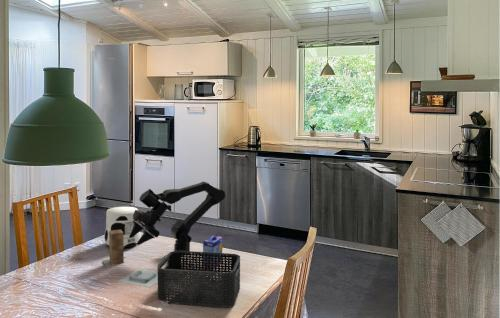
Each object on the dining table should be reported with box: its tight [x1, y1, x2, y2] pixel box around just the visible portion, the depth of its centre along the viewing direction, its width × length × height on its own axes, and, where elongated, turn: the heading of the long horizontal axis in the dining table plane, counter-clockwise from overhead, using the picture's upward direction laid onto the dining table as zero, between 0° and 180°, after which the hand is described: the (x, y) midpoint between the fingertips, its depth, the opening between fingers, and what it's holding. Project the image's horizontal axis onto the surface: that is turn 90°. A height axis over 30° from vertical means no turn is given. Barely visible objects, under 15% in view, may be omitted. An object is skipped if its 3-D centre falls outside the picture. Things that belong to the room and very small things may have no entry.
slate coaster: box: [102, 256, 126, 269], centre depth 182 cm, size 10×10×1 cm
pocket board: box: [118, 268, 158, 288], centre depth 166 cm, size 14×14×2 cm
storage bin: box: [157, 250, 241, 308], centre depth 153 cm, size 29×19×13 cm
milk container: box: [104, 206, 141, 248], centre depth 206 cm, size 17×17×18 cm
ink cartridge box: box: [202, 233, 224, 267], centre depth 182 cm, size 10×6×14 cm, turn 158°
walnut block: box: [108, 230, 125, 266], centre depth 181 cm, size 5×5×14 cm
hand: (133, 241), depth 184 cm, fingers open, 9 cm apart
